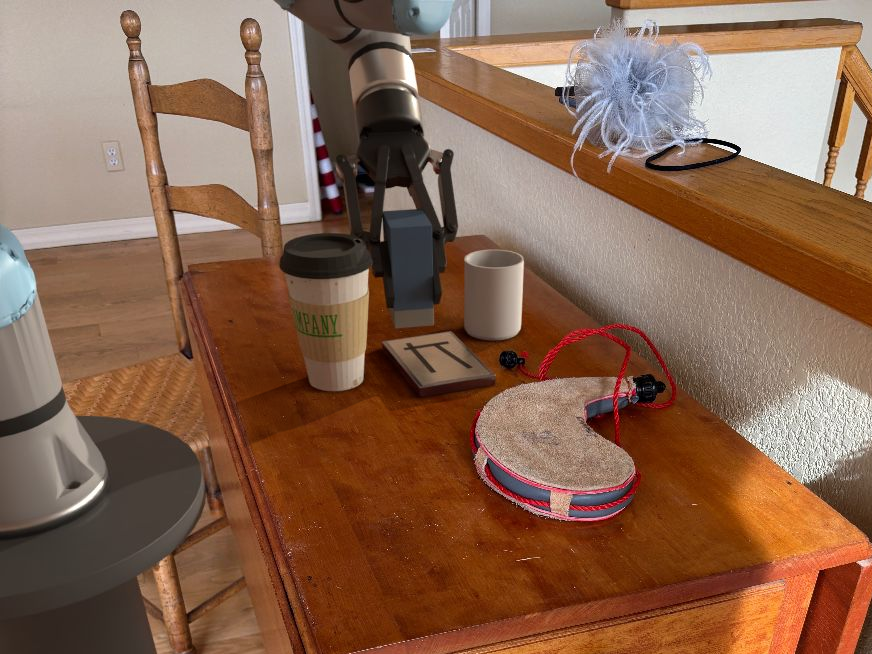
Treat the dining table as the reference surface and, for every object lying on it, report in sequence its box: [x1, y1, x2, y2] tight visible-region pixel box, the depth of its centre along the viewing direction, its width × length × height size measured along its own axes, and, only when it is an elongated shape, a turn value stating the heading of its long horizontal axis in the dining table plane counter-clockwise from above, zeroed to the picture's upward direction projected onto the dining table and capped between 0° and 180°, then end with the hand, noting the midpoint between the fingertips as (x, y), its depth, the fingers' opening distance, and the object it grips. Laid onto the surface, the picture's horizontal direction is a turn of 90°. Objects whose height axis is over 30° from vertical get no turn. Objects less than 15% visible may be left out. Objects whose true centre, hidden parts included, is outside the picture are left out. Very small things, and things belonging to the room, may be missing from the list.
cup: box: [463, 249, 525, 341], centre depth 116 cm, size 7×10×9 cm
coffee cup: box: [278, 232, 373, 392], centre depth 101 cm, size 10×10×15 cm
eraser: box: [382, 208, 435, 329], centre depth 104 cm, size 4×6×11 cm
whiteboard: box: [381, 330, 496, 398], centre depth 108 cm, size 9×14×1 cm, turn 21°
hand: (414, 300), depth 103 cm, fingers closed on eraser, 4 cm apart
